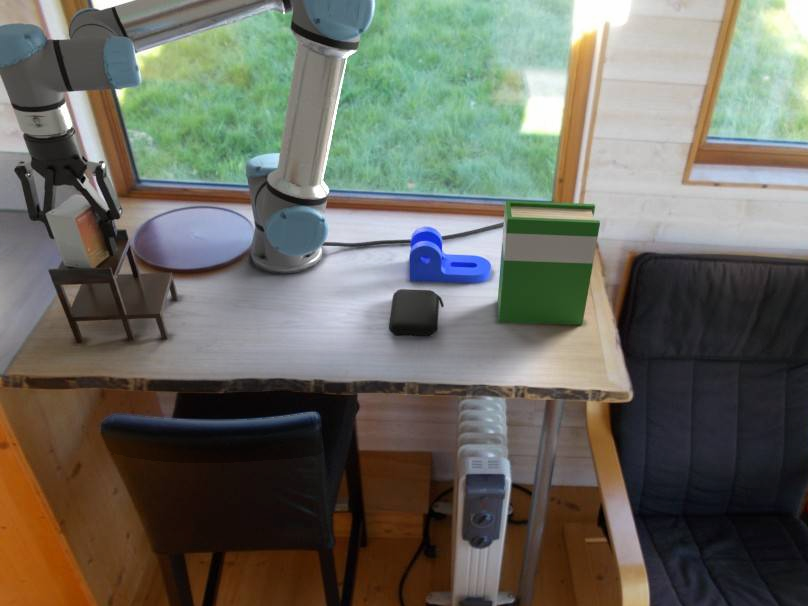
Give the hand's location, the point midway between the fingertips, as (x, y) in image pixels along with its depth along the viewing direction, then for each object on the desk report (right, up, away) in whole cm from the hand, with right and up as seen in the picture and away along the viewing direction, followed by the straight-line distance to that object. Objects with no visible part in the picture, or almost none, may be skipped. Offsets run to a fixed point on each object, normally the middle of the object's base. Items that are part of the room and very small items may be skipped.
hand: (90, 252), depth 135 cm
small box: (0, -1, +1) cm, 1 cm away
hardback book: (+83, -9, +23) cm, 86 cm away
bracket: (+63, +1, +32) cm, 71 cm away
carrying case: (+57, -11, +18) cm, 61 cm away
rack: (+2, -11, +11) cm, 16 cm away
